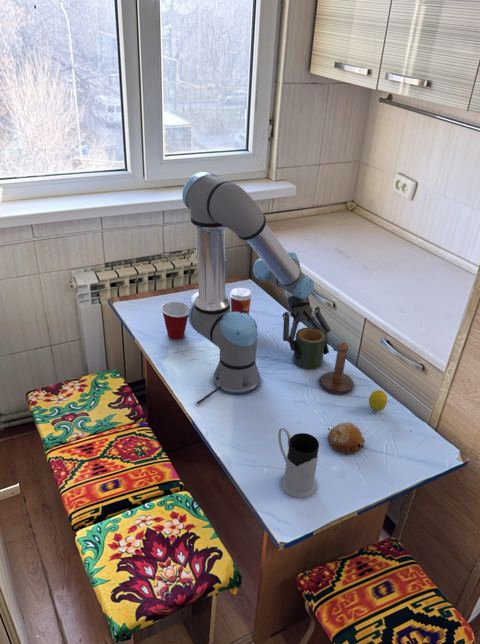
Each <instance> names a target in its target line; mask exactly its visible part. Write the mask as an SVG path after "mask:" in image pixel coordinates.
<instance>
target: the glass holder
mask: <svg viewBox="0 0 480 644" xmlns="http://www.w3.org/2000/svg"><path fill="white" fill-rule="evenodd" d="M282 431H283V432H285V434H286V437H287V447H288V450H287V454H286V453H285V450H284V447H283V443H282V442H283V441H282ZM277 435H278V436H277V440H278V446H279V448H280V449H279V450H280V451H281V454H282V457H283V459H284V461H285V469H284V477H283V479H282V482H281V485H282V489H283V491H284V492H285V493H286V494H287V495H289V496H291V497H293V498H298V499H301V498H307V497H309V496H311V495H312V494H313V493H314V491H315V490H316V489H315V487H316V485H315V478H316V477H315V476H316V472H317V465H318V458H319V456H318V455H319V454H318V453H319V447H320V442H319V440H318V439H317V438H316V437H315V436H314V435H312V434H310V433H305V432H299V433H295V434H293V435H292V436H291V434H290V433H289V430H287V428H285V427H281V428H279V430H278V434H277Z"/></svg>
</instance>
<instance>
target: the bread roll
mask: <svg viewBox="0 0 480 644" xmlns="http://www.w3.org/2000/svg"><path fill="white" fill-rule="evenodd" d="M327 441H328V444H329V446H330V447H331V448H332V449H333V450H334V451H336V452H338V453H342V454H344V455H345V454H347V455H353V454H356V453H358V452H359V451H361V450H362V448H365V445H364V443H365V442H366V440H365V438H364V437H363V434H362V431H361V430H360V429H359V427H358V426H356V425H355V424H354V423H352V422H347V421H346V422H340V423H338V424H337V425H335V426H334V427H332V428H331V429H330V431H329V432H328V435H327Z"/></svg>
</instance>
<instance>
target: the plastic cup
mask: <svg viewBox="0 0 480 644" xmlns="http://www.w3.org/2000/svg"><path fill="white" fill-rule="evenodd" d="M190 308H191V306H190V304H187V302H186V303H185V302H182V301H178V300H173V301H166V302H165V303H163V304H161V307H160V311H161V312H162V316H163V319H164V324H165V325H164V326H165V329H166V333H167V336H168V338H169V339H170V340H173V341H179V340H182V339H184V337H185V332H186V330H187V329H186V328H187V323H188V320H189V318H188V314H189V310H190Z"/></svg>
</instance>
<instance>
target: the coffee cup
mask: <svg viewBox="0 0 480 644" xmlns="http://www.w3.org/2000/svg"><path fill="white" fill-rule="evenodd" d="M229 296H230V297H229V298H230V311H231V312H240V313H245V314H248V315H249V316H250V310H251V302H252V301H251V300H252V298H253V294H252V291H251V290H250V289H248V288H245V287H235V288H232V290H231V291H230V293H229Z"/></svg>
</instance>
